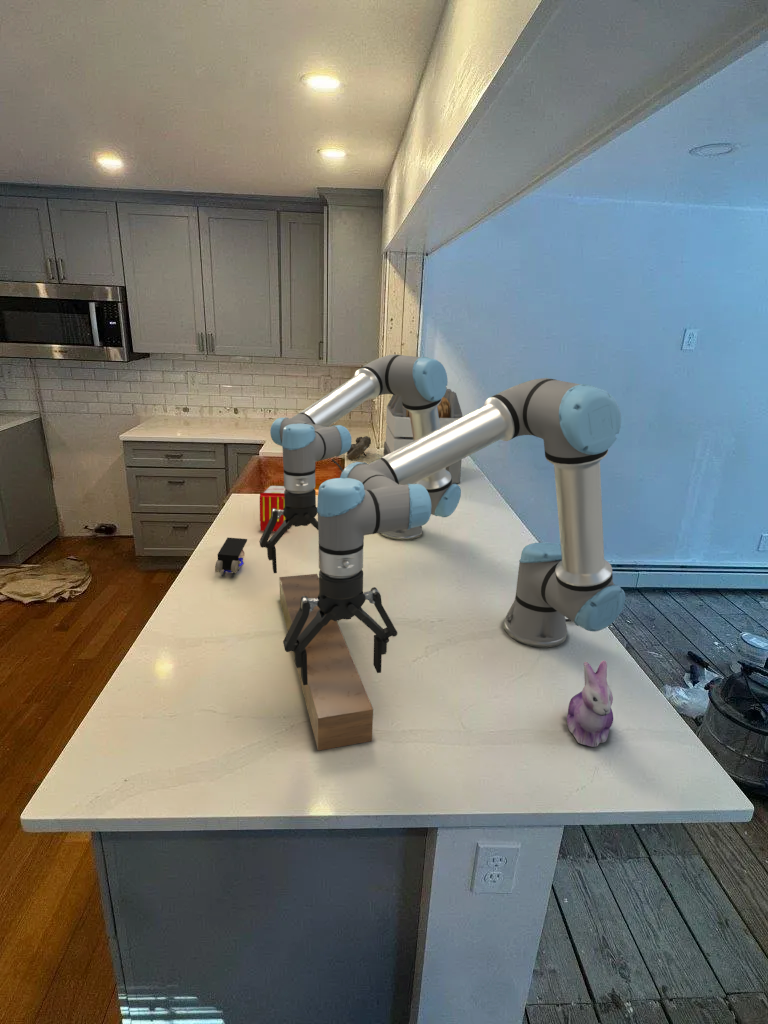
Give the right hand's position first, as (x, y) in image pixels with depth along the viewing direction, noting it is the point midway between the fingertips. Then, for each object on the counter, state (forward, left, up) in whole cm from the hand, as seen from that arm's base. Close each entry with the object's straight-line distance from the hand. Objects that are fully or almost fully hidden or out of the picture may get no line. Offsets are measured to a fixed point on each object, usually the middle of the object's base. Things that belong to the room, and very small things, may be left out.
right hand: (341, 674), depth 103 cm
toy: (-58, -97, -12) cm, 114 cm away
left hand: (-23, -40, 0) cm, 46 cm away
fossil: (-147, -146, -12) cm, 207 cm away
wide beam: (-11, -20, -12) cm, 25 cm away
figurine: (-33, +34, -12) cm, 49 cm away
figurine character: (-22, -71, -12) cm, 75 cm away
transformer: (-147, -104, -12) cm, 180 cm away
